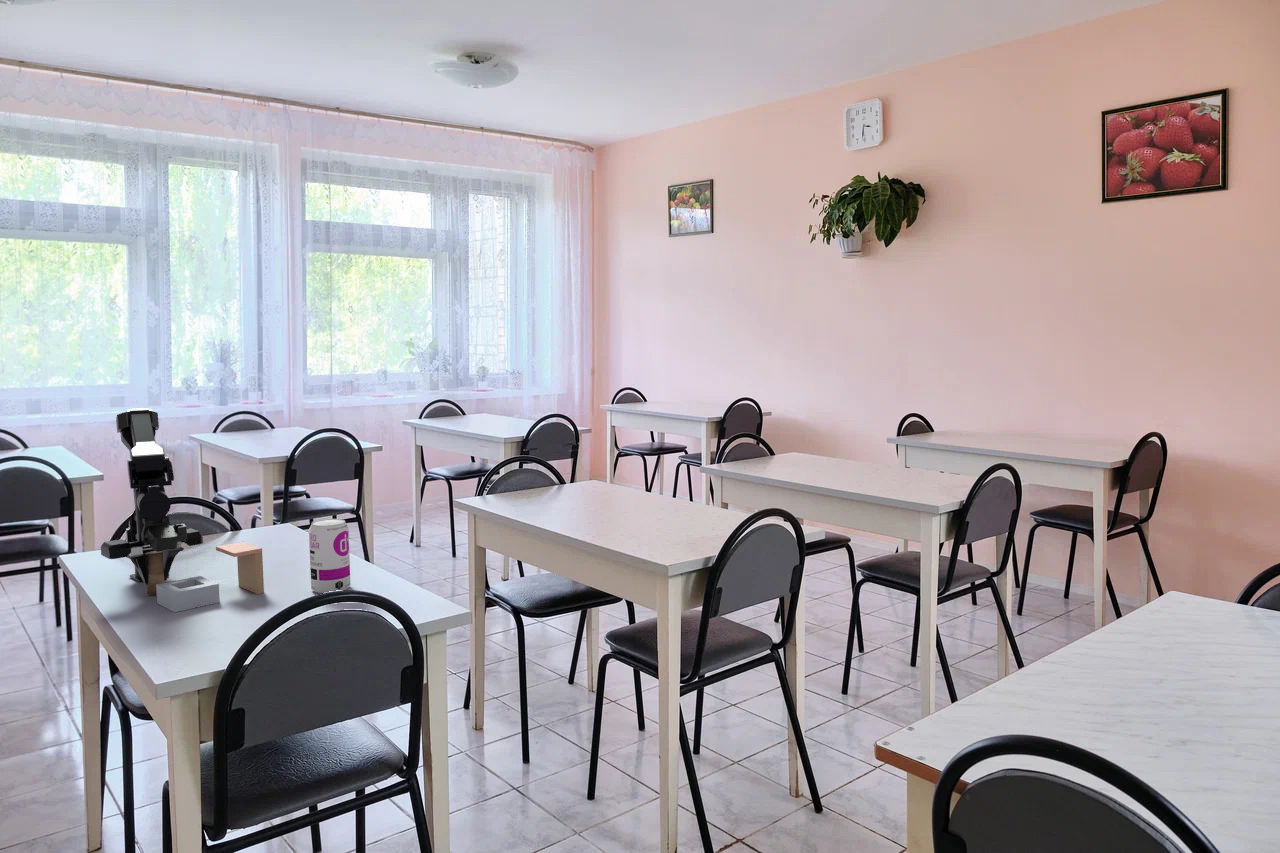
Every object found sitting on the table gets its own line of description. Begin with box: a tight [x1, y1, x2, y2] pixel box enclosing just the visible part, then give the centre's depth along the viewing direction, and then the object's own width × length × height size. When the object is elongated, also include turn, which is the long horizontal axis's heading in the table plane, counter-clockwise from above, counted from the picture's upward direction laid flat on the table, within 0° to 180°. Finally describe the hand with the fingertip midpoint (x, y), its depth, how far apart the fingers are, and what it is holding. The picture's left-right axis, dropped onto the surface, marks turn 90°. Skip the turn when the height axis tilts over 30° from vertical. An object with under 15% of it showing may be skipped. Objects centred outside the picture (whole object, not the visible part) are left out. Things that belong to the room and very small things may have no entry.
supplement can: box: [308, 518, 351, 594], centre depth 198 cm, size 8×8×15 cm
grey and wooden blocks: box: [156, 541, 265, 613], centre depth 192 cm, size 9×18×10 cm, turn 138°
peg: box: [145, 551, 165, 597], centre depth 195 cm, size 3×3×9 cm
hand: (155, 582), depth 195 cm, fingers closed on peg, 3 cm apart
